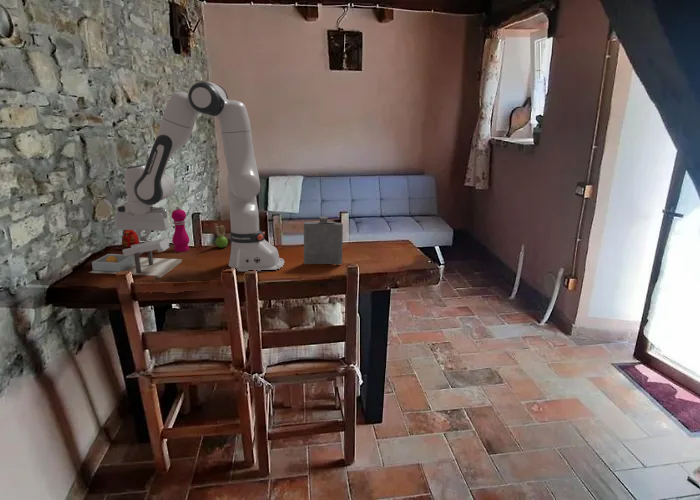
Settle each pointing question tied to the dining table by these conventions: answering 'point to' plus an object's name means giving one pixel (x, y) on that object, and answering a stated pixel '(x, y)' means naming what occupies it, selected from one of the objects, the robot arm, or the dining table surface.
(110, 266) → the grey open tray
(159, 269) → the base board
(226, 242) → the snail figurine
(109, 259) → the ball
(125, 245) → the red clay folk toy
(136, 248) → the lever
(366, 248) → the dining table surface
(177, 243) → the pepper mill
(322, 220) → the hip flask
